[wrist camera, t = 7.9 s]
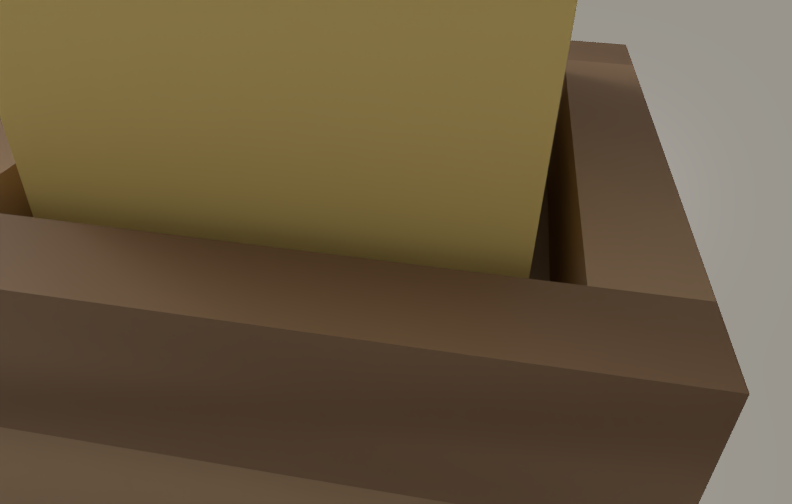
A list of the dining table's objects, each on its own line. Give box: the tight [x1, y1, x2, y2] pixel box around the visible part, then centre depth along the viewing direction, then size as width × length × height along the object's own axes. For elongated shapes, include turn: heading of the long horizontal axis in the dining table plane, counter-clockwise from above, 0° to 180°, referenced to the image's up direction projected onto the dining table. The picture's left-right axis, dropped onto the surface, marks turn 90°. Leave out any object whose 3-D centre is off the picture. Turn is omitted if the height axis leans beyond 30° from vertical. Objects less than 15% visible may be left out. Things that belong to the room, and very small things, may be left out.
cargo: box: [0, 0, 577, 279], centre depth 5 cm, size 3×3×3 cm
